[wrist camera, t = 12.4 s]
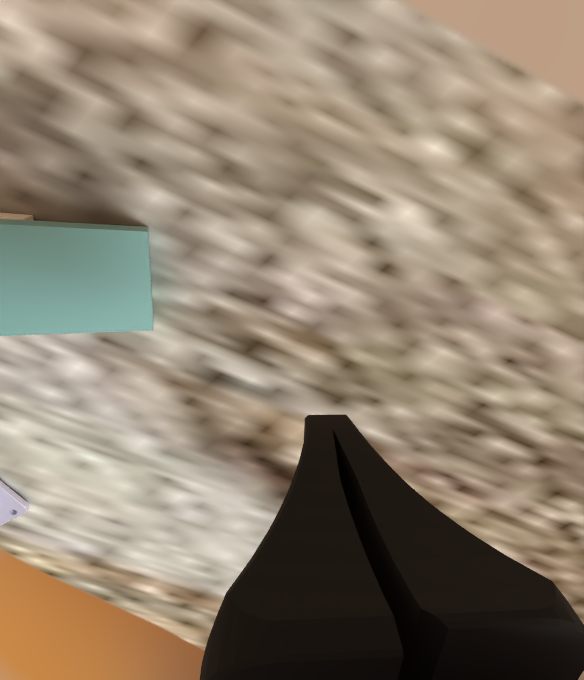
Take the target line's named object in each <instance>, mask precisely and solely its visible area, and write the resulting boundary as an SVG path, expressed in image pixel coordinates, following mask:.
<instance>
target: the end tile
mask: <svg viewBox="0 0 584 680" xmlns="http://www.w3.org/2000/svg"><path fill="white" fill-rule="evenodd" d="M147 330H153V307H152V290H151V273H150V256H149V239H148V227H143V226H124V225H106V224H88V223H70V222H52V221H34V220H15V219H0V336H12V335H39V334H66V333H93V332H120V331H147Z"/></svg>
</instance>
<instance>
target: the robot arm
mask: <svg viewBox="0 0 584 680" xmlns="http://www.w3.org/2000/svg"><path fill="white" fill-rule="evenodd" d="M29 507H30V506H29V504H28V503H27V502H26V501H25V500H24V499H23V498H21V497H20V496H19V495H18V494H17V493H15V492H14V491H13V490H12V489H10V488H9V487H8V486H7V485H6V484H4V483H3V482H2V481H1V480H0V525H2V524H4V523H6V522H8V521H10V520H12V519H14V518H16V517H18V516H20V515H22V514H24V513H26V512H27V510H28V509H29ZM583 671H584V625H583V623H582V622H581V620H580V619H579V617H578V616H577V614H576V613H575V611H574V610H573V608H572V607H571V605H570V604H569V602H568V601H567V600H566V598H565V597H564V596H563V594H562V593H561V592H560V591H559V589H558V588H557V587H556V585H555V584H554V583H553V582H552V581H551V580H549V579H547V578H545V577H544V576H542V575H540V574H538V573H536V572H535V571H533V570H531V569H529V568H527V567H526V566H524V565H522V564H520V563H518V562H517V561H515V560H513V559H511V558H509V557H508V556H506V555H504V554H503V553H501V552H499V551H498V550H496V549H495V548H493V547H491V546H490V545H488V544H487V543H485V542H483V541H482V540H480V539H479V538H477V537H476V536H474V535H473V534H471V533H470V532H468V531H467V530H465V529H464V528H462V527H461V526H460V525H458V524H457V523H455V522H454V521H453V520H451V519H450V518H449V517H447V516H446V515H445V514H443V513H442V512H440V511H439V510H438V509H437V508H435V507H434V506H433V505H432V504H430V503H429V502H428V501H427V500H425V499H424V498H423V497H422V496H421V495H420V494H418V493H417V492H416V491H415V490H414V489H413V488H411V487H410V486H409V485H408V484H407V483H406V482H405V481H404V480H403V479H402V478H401V477H400V476H399V475H398V474H397V473H396V472H395V471H394V470H393V469H392V468H391V467H390V466H389V465H388V464H387V463H386V462H385V461H384V460H383V458H382V457H381V456H380V455H379V454H378V453H377V452H376V451H375V450H374V448H373V447H372V446H371V445H370V444H369V443H368V441H367V440H366V439H365V438H364V436H363V435H362V434H361V433H360V432H359V430H358V429H357V428H356V426H355V425H354V424H353V423H352V421H351V420H350V419H349V417H348V416H347V415H308V416H307V417H306V418H305V429H304V444H303V448H302V452H301V456H300V460H299V463H298V466H297V469H296V472H295V475H294V477H293V480H292V483H291V485H290V488H289V490H288V493H287V495H286V497H285V499H284V501H283V504H282V506H281V508H280V510H279V512H278V514H277V516H276V518H275V520H274V521H273V523H272V525H271V527H270V529H269V530H268V532H267V534H266V536H265V537H264V539H263V540H262V542H261V544H260V545H259V547H258V548H257V550H256V552H255V553H254V555H253V556H252V558H251V559H250V561H249V562H248V564H247V565H246V567H245V568H244V569H243V571H242V572H241V574H240V575H239V576H238V578H237V579H236V580H235V582H234V583H233V584H232V586H231V587H230V589H229V590H228V591H227V593H226V595H225V597H224V600H223V602H222V605H221V607H220V609H219V612H218V614H217V617H216V620H215V622H214V625H213V627H212V630H211V633H210V636H209V639H208V642H207V646H206V649H205V653H204V657H203V662H202V666H201V675H200V680H578V678H579V677H580V675H581V674H582V672H583Z"/></svg>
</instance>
